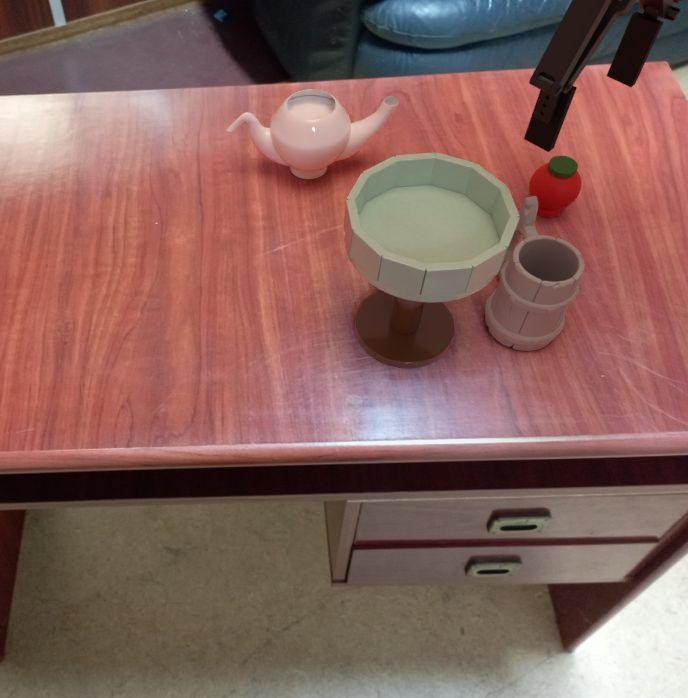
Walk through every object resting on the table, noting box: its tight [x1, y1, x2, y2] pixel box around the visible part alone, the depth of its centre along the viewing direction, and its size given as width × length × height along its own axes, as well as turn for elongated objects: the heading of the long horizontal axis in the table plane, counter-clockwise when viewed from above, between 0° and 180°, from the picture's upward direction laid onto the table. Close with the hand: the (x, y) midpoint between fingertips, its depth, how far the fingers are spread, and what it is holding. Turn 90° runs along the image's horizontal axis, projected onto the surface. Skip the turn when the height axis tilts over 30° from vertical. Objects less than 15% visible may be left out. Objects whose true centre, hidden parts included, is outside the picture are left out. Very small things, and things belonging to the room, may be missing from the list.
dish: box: [342, 151, 520, 369], centre depth 68 cm, size 14×14×17 cm
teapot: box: [225, 88, 400, 180], centre depth 87 cm, size 10×20×9 cm, turn 90°
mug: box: [484, 196, 586, 352], centre depth 71 cm, size 8×12×12 cm, turn 7°
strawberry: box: [528, 155, 582, 218], centre depth 81 cm, size 5×5×6 cm
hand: (580, 111), depth 70 cm, fingers open, 13 cm apart
